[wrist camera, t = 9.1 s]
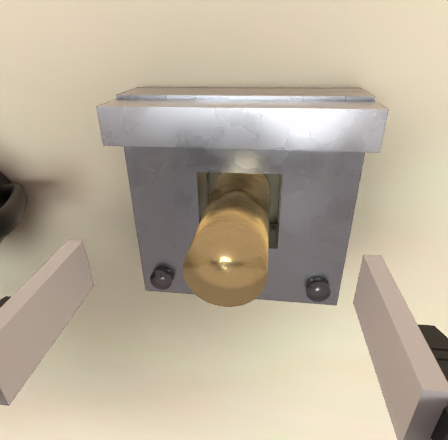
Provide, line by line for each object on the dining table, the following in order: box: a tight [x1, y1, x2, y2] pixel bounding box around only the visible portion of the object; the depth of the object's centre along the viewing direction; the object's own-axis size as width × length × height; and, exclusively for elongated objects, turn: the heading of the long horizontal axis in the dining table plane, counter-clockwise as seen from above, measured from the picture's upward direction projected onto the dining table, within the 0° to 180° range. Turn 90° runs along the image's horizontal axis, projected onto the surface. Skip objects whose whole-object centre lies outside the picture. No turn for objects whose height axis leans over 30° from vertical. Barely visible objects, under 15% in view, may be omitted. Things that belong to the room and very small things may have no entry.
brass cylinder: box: [183, 173, 270, 307], centre depth 20 cm, size 4×4×10 cm
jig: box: [96, 87, 389, 305], centre depth 22 cm, size 14×14×6 cm
